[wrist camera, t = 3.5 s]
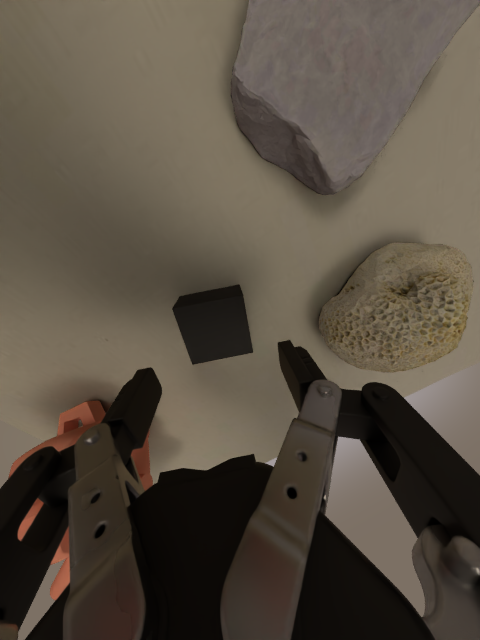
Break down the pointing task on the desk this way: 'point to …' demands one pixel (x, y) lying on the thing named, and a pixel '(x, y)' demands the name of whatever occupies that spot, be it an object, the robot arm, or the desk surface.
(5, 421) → the desk surface
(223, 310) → the small pad
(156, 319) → the desk surface
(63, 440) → the pink piece
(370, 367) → the decorative item
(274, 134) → the stone block
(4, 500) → the robot arm
